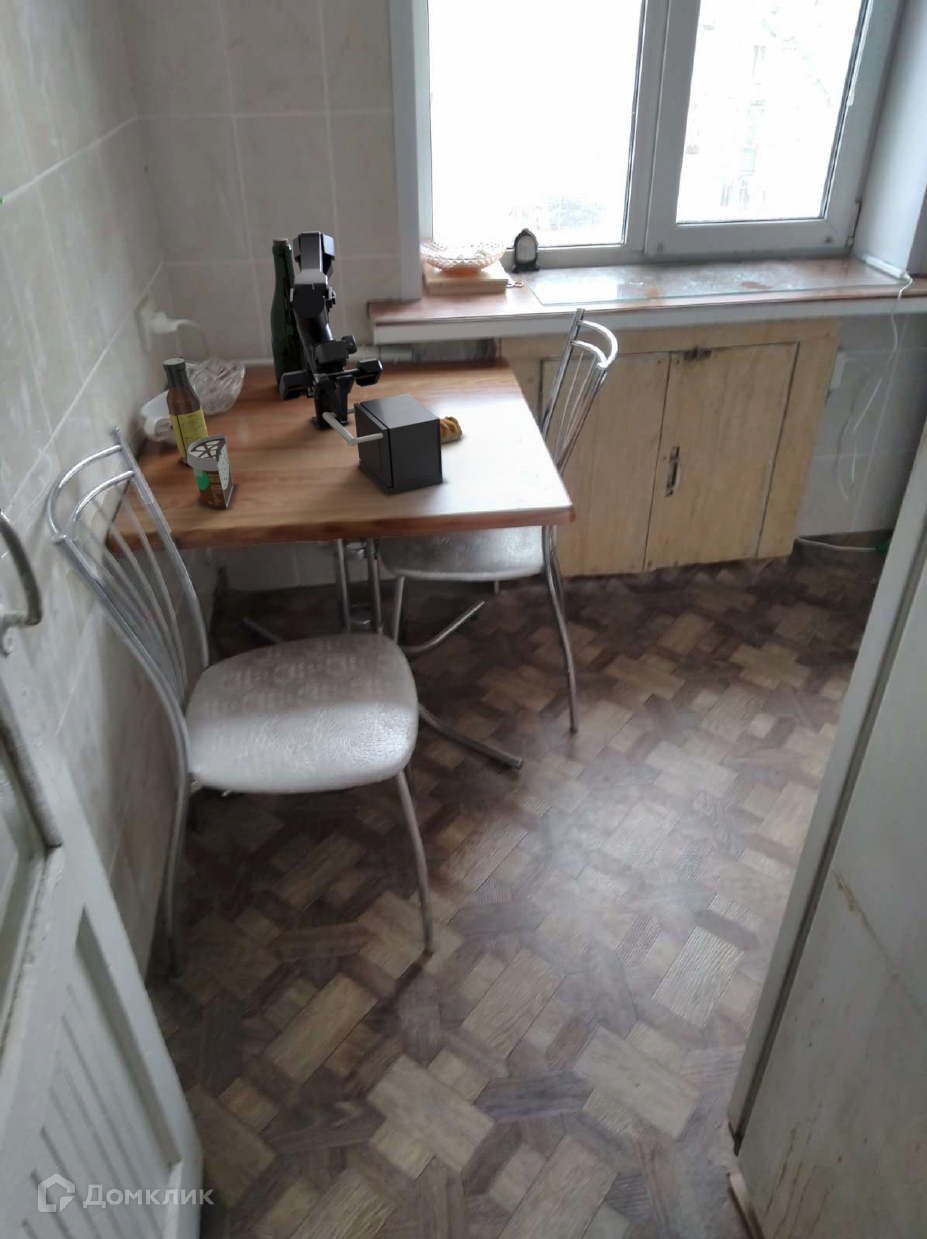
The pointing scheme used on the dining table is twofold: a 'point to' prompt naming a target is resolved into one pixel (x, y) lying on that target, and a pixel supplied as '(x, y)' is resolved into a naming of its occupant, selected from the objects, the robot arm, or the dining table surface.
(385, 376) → the dining table surface
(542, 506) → the dining table surface
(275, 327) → the green wine bottle
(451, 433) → the pastry
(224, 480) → the food container
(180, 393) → the sauce bottle
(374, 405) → the oven
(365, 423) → the oven door
